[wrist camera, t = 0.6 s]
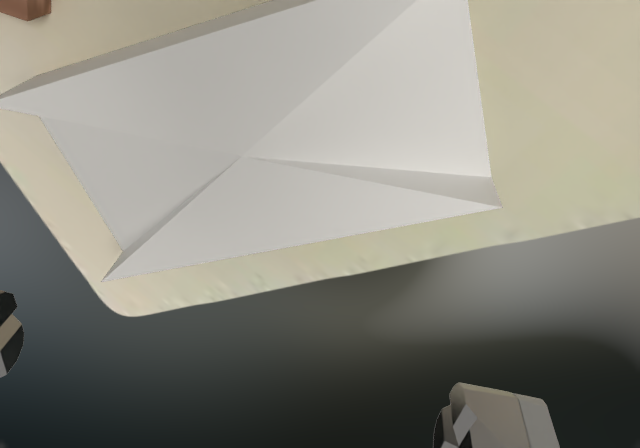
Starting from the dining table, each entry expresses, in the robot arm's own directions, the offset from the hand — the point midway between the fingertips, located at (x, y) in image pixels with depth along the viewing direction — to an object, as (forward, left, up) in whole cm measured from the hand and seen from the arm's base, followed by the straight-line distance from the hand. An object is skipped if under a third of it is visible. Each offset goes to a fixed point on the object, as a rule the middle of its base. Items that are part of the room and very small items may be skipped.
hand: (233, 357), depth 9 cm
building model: (+16, -5, -45) cm, 48 cm away
